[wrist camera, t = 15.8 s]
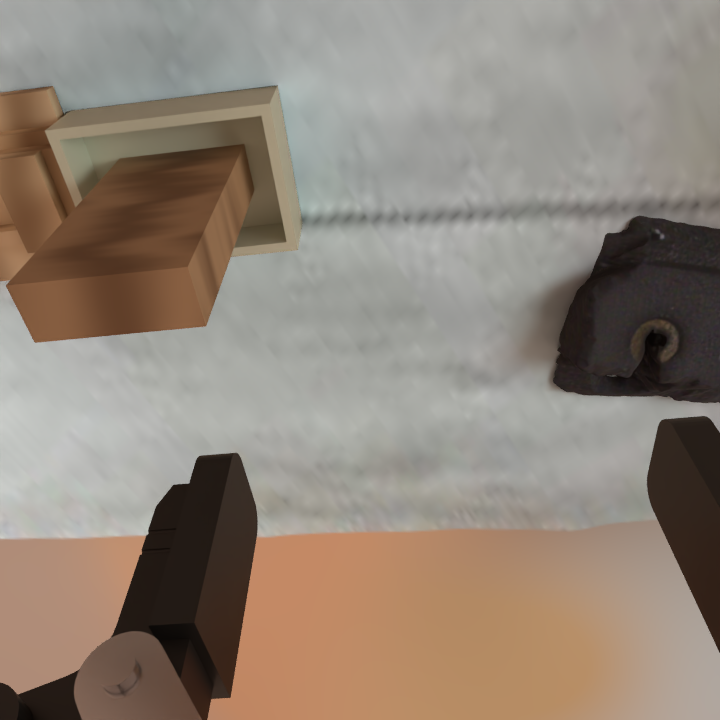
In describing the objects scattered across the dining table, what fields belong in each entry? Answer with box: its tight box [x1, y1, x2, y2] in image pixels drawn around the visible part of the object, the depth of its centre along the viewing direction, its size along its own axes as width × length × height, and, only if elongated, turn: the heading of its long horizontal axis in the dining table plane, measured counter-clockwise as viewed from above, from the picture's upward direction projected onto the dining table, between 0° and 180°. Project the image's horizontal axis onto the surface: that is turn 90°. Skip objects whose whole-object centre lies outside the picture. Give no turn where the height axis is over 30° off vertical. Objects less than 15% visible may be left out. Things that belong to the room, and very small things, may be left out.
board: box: [6, 144, 254, 343], centre depth 34 cm, size 8×3×16 cm, turn 97°
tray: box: [45, 85, 302, 257], centre depth 40 cm, size 13×9×4 cm
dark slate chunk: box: [553, 216, 720, 403], centre depth 47 cm, size 15×22×5 cm
